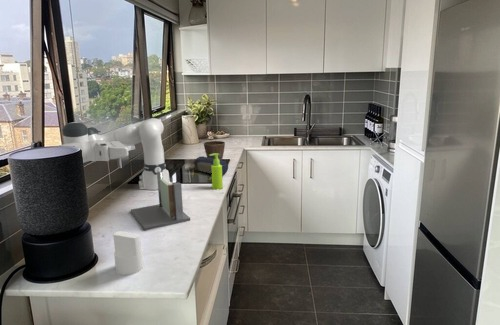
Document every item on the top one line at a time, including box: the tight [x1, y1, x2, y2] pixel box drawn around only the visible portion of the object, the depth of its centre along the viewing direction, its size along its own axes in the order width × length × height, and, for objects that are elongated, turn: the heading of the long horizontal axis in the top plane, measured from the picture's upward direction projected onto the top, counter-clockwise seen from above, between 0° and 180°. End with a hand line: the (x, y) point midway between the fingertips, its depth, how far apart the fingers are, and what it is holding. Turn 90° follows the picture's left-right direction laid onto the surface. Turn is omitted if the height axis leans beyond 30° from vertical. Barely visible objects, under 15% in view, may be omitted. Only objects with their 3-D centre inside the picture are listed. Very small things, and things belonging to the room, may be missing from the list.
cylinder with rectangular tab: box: [112, 230, 145, 276], centre depth 119 cm, size 9×9×12 cm
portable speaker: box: [194, 155, 229, 176], centre depth 237 cm, size 25×10×10 cm, turn 50°
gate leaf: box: [160, 178, 174, 217], centre depth 164 cm, size 16×2×14 cm, turn 29°
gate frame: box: [130, 171, 191, 231], centre depth 163 cm, size 25×20×18 cm
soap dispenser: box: [209, 153, 224, 190], centre depth 203 cm, size 6×7×20 cm
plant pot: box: [203, 140, 226, 160], centre depth 257 cm, size 15×15×16 cm
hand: (134, 146), depth 159 cm, fingers closed
